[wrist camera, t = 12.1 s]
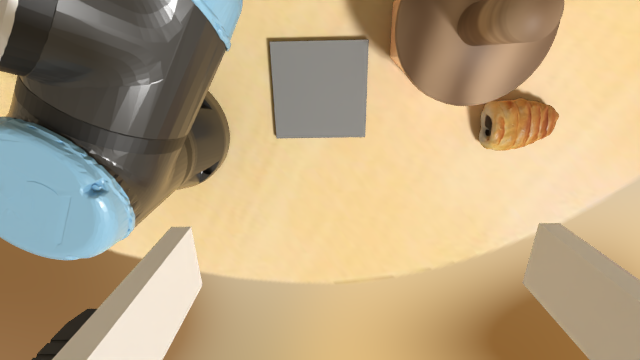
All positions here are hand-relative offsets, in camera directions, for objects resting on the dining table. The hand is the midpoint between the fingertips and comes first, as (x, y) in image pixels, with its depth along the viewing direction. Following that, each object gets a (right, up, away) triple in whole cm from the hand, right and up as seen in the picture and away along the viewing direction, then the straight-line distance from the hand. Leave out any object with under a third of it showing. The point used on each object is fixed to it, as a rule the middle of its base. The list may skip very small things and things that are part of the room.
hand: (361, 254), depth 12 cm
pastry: (+24, +11, +30) cm, 40 cm away
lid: (+14, +19, +20) cm, 31 cm away
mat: (-2, +14, +28) cm, 32 cm away
